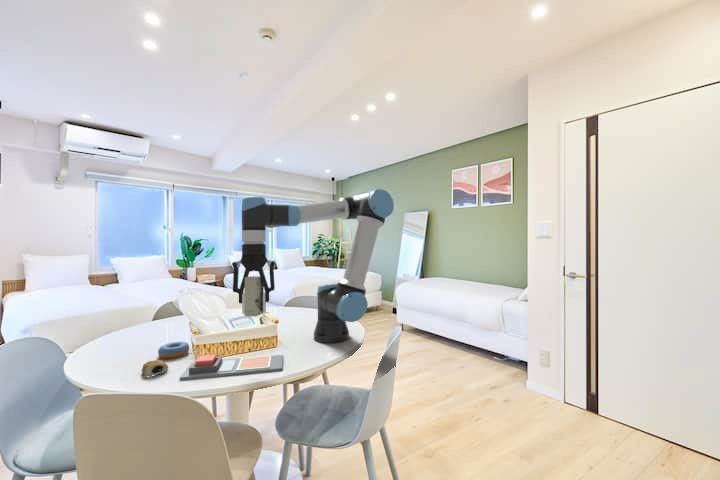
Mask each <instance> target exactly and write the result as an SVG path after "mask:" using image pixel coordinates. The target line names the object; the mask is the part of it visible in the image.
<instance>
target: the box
mask: <svg viewBox="0 0 720 480" xmlns="http://www.w3.org/2000/svg"><path fill="white" fill-rule="evenodd" d="M263 292H264V287H263V283H262V280H261V277H260V275H250V276H248V277H245V288H244V293H245V314H244V316H245V317H258V316H261V315H263V314H264V313H263Z"/></svg>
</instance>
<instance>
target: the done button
mask: <svg viewBox="0 0 720 480" xmlns="http://www.w3.org/2000/svg"><path fill="white" fill-rule="evenodd" d="M216 357H217V354H206V355H205V354H204V355H199V357H198V358H196V359H197V360H196V359H195V360H196V366H208V365H214V363H215V362H216Z"/></svg>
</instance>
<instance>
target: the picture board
mask: <svg viewBox="0 0 720 480" xmlns="http://www.w3.org/2000/svg"><path fill="white" fill-rule="evenodd" d="M283 357H284V354H276V355H275V354H273V355H265V356H253V357H252V356H251V357H241V358H240V357H239V358H238V357H237V358H229V359H228V358H227V359H223V356H216V362H215V363H214V365H208V366H196V360H197V359H198V358H196V359H195V360H194V361H193V362H191V363H190V364H189V365H188V366H187V368H186V369H185V370H184V371H183V373H182V374H181V375H180V377H179V381H184V380H185V381H186V380H196V379H208V378H216V377H217V378H218V377H228V376H238V375H248V374H249V375H250V374H259V373H267V372H268V373H269V372H280V371H283V359H284V358H283Z"/></svg>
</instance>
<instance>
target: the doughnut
mask: <svg viewBox="0 0 720 480" xmlns="http://www.w3.org/2000/svg"><path fill="white" fill-rule="evenodd" d="M189 351H190V344H189V343H188V342H185V341H173V342H168V343H166V344H163V345H161V346H160V347H159V349H158V350H157V353H158V357H159V358H161V359H165V360H172V359H177V358H181V357H184V356H186V355H187V354H189Z"/></svg>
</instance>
